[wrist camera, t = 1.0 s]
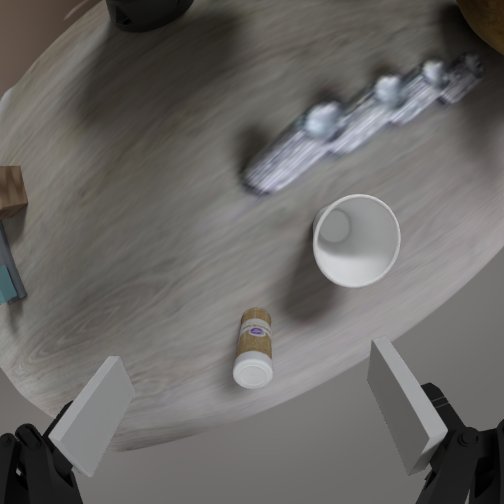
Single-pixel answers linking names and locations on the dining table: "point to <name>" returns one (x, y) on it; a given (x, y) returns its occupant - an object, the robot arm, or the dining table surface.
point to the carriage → (6, 286)
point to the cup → (355, 240)
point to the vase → (485, 20)
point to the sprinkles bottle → (254, 351)
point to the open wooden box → (11, 191)
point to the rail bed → (10, 267)
